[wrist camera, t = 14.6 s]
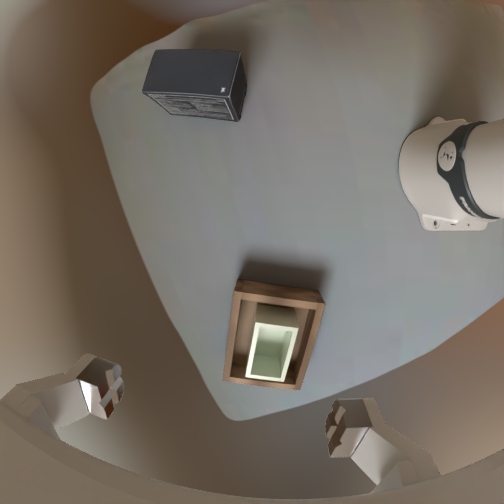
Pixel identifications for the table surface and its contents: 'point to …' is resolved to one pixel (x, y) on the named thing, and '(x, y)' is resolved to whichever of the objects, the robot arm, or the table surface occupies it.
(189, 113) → the small box
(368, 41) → the table surface
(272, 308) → the sage crate
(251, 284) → the walnut crate
